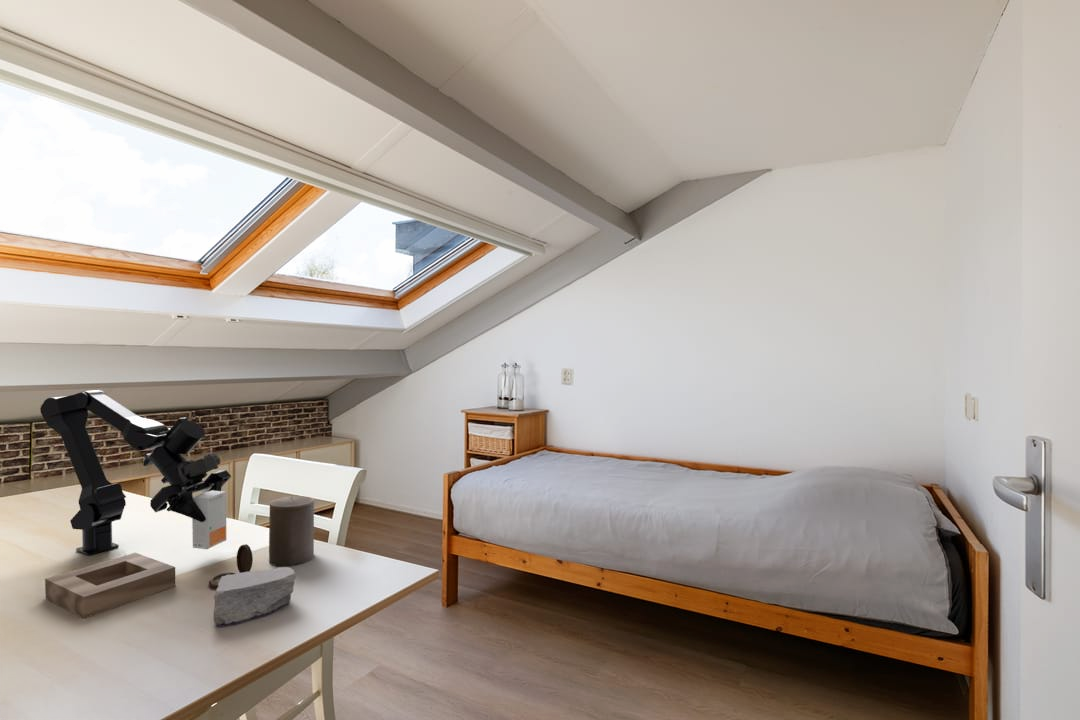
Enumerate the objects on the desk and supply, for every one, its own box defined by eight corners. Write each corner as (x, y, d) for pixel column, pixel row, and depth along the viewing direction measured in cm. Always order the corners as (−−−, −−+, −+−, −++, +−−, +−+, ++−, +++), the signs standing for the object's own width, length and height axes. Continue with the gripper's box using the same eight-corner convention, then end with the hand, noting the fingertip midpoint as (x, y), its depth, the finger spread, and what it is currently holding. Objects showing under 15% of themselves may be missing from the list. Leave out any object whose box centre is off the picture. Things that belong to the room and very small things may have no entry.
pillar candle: (276, 570, 126) (276, 503, 126) (263, 557, 133) (264, 494, 133) (320, 559, 132) (320, 496, 132) (305, 548, 140) (306, 488, 139)
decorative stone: (199, 619, 104) (222, 635, 98) (198, 582, 104) (221, 595, 98) (277, 593, 116) (302, 605, 110) (276, 559, 116) (302, 570, 110)
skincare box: (208, 550, 129) (206, 498, 128) (192, 548, 129) (190, 497, 129) (227, 540, 135) (226, 491, 134) (212, 538, 135) (211, 489, 135)
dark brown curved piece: (203, 584, 118) (202, 550, 118) (242, 573, 125) (242, 540, 124) (218, 595, 113) (217, 560, 113) (258, 583, 119) (258, 549, 119)
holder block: (45, 598, 111) (45, 578, 111) (135, 570, 125) (135, 552, 125) (84, 618, 104) (83, 596, 103) (175, 585, 118) (175, 566, 117)
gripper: (160, 451, 123) (204, 505, 121) (224, 437, 141) (263, 484, 139) (130, 485, 124) (173, 538, 123) (197, 466, 143) (235, 513, 141)
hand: (214, 516), depth 131 cm, fingers closed on skincare box, 6 cm apart
